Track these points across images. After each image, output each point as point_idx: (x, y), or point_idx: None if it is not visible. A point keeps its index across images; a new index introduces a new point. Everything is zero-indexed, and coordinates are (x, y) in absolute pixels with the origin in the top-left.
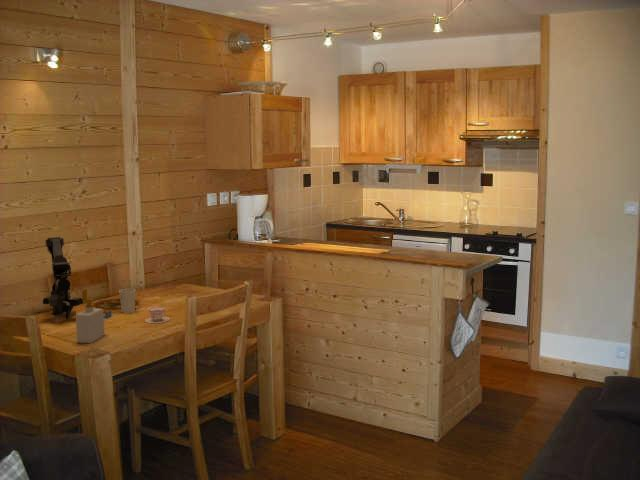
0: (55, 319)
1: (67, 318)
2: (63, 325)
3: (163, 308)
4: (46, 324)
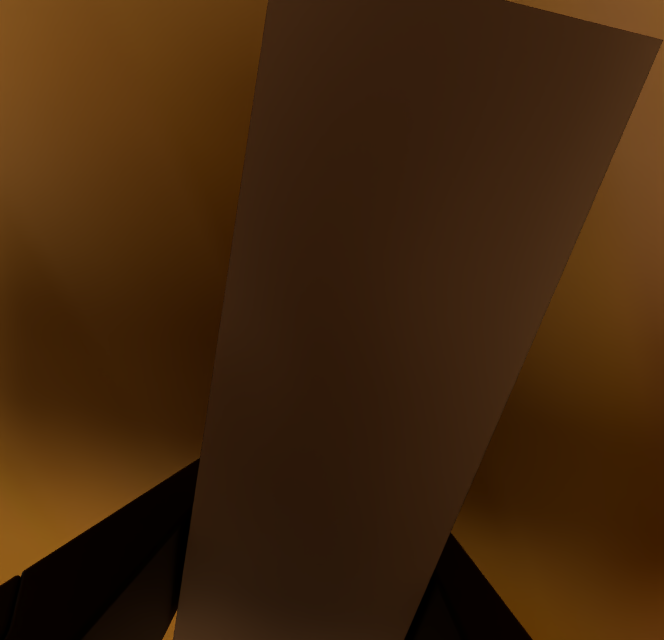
0: (390, 7)
1: None
2: (142, 28)
3: None
4: (661, 133)
